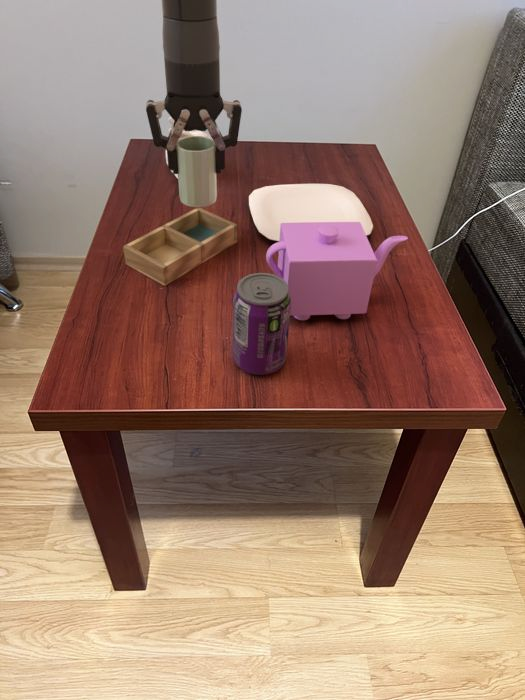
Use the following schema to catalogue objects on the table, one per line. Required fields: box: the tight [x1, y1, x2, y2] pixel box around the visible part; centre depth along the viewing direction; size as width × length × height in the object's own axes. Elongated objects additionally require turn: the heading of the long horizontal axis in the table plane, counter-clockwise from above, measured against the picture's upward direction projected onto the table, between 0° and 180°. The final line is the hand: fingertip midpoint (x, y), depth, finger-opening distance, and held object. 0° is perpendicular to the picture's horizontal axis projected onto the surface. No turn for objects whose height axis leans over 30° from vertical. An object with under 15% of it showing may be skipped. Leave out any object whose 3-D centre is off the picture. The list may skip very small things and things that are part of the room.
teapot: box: [265, 222, 409, 321], centre depth 79 cm, size 20×10×12 cm, turn 95°
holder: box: [122, 207, 238, 287], centre depth 90 cm, size 17×9×3 cm, turn 142°
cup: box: [176, 136, 218, 208], centre depth 85 cm, size 6×6×9 cm
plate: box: [248, 183, 374, 243], centre depth 101 cm, size 22×22×2 cm
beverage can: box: [232, 272, 291, 375], centre depth 69 cm, size 7×7×12 cm
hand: (197, 171), depth 85 cm, fingers closed on cup, 6 cm apart
